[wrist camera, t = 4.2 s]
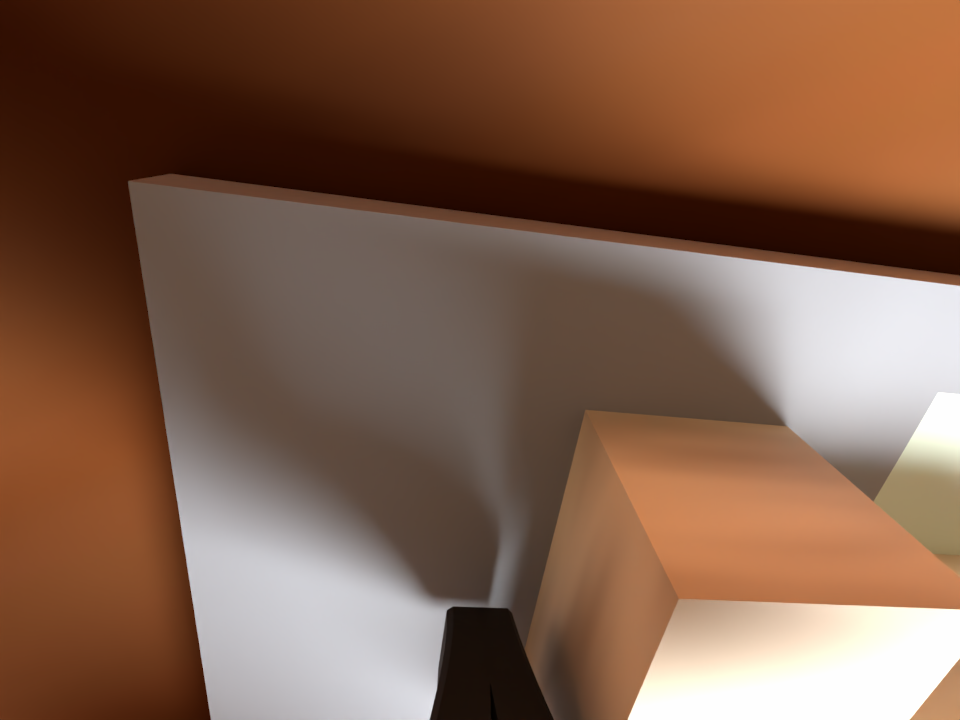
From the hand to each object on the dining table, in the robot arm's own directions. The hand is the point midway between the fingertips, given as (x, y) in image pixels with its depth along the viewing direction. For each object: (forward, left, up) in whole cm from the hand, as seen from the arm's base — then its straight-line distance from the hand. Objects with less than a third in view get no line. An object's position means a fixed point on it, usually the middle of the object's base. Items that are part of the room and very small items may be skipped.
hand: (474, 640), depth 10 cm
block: (0, -7, -1) cm, 7 cm away
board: (-1, -8, -2) cm, 8 cm away
